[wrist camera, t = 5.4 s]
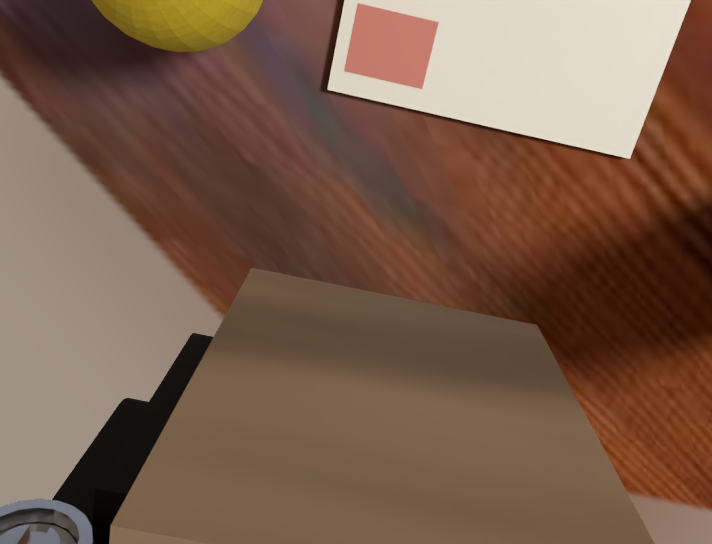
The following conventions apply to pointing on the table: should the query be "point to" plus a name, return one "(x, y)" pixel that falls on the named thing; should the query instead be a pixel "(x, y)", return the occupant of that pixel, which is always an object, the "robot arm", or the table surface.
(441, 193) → the table surface
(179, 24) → the lemon
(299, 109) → the table surface
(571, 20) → the letter
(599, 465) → the walnut block
